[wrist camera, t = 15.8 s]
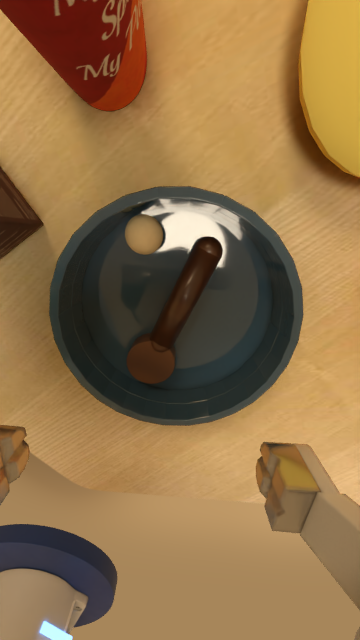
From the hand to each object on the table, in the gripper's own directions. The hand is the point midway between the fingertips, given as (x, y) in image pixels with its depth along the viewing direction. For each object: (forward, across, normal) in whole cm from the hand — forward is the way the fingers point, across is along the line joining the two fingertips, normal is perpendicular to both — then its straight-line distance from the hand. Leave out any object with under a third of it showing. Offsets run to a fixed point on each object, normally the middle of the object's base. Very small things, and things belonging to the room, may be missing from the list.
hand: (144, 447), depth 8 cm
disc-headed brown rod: (+15, -1, 0) cm, 15 cm away
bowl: (+15, -1, 0) cm, 16 cm away
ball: (+13, +2, -7) cm, 15 cm away
